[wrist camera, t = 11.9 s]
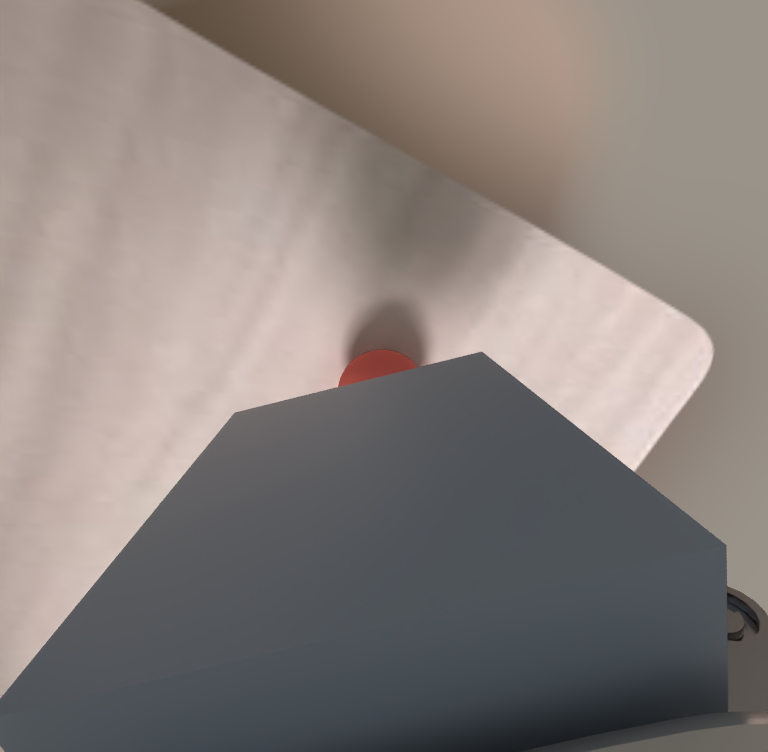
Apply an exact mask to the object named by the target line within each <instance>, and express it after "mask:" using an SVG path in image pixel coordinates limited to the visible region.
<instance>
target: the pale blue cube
mask: <svg viewBox="0 0 768 752" xmlns="http://www.w3.org/2000/svg"><path fill="white" fill-rule="evenodd" d="M726 563H727V561H726V545H725V544H724V543H723V542H721V541H720V540H719V539H718V538H716V537H715V536H714V535H713V534H712V533H710V532H709V531H708V530H707V529H705V528H704V527H703V526H701V525H700V524H699V523H698V522H696V521H695V520H694V519H693V518H691V517H690V516H689V515H688V514H686V513H685V512H684V511H683V510H681V509H680V508H679V507H677V506H676V505H675V504H674V503H672V502H671V501H670V500H669V499H667V498H666V497H665V496H664V495H662V494H661V493H660V492H659V491H657V490H656V489H655V488H654V487H652V486H651V485H650V484H648V483H647V482H646V481H645V480H643V479H642V478H641V477H640V476H638V475H637V474H636V473H635V472H633V471H632V470H631V469H630V468H628V467H627V466H626V465H624V464H623V463H622V462H621V461H619V460H618V459H617V458H616V457H614V456H613V455H612V454H611V453H609V452H608V451H607V450H606V449H604V448H603V447H602V446H600V445H599V444H598V443H597V442H595V441H594V440H593V439H592V438H590V437H589V436H588V435H587V434H585V433H584V432H583V431H582V430H580V429H579V428H578V427H576V426H575V425H574V424H573V423H571V422H570V421H569V420H568V419H566V418H565V417H564V416H563V415H561V414H560V413H559V412H558V411H556V410H555V409H554V408H552V407H551V406H550V405H549V404H547V403H546V402H545V401H544V400H542V399H541V398H540V397H539V396H537V395H536V394H535V393H534V392H532V391H531V390H530V389H528V388H527V387H526V386H525V385H523V384H522V383H521V382H520V381H518V380H517V379H516V378H515V377H513V376H512V375H511V374H510V373H508V372H507V371H506V370H504V369H503V368H502V367H501V366H499V365H498V364H497V363H496V362H494V361H493V360H492V359H491V358H489V357H488V356H487V355H486V354H484V353H483V352H479V353H475V354H471V355H466V356H462V357H458V358H454V359H450V360H446V361H442V362H438V363H434V364H430V365H426V366H422V367H418V368H414V369H410V370H406V371H402V372H398V373H394V374H390V375H385V376H381V377H377V378H373V379H369V380H365V381H361V382H357V383H353V384H349V385H345V386H341V387H337V388H333V389H329V390H325V391H321V392H317V393H313V394H309V395H305V396H300V397H296V398H292V399H288V400H284V401H280V402H276V403H272V404H268V405H264V406H260V407H256V408H252V409H248V410H244V411H240V412H236V413H234V414H233V415H232V417H231V418H230V419H229V420H228V422H227V423H226V424H225V425H224V426H223V428H222V429H221V430H220V431H219V433H218V434H217V435H216V436H215V437H214V439H213V440H212V441H211V442H210V444H209V445H208V446H207V447H206V448H205V450H204V451H203V452H202V453H201V454H200V456H199V457H198V458H197V459H196V461H195V462H194V463H193V464H192V465H191V467H190V468H189V469H188V470H187V472H186V473H185V474H184V475H183V476H182V478H181V479H180V480H179V481H178V483H177V484H176V485H175V486H174V487H173V489H172V490H171V491H170V492H169V494H168V495H167V496H166V497H165V498H164V500H163V501H162V502H161V503H160V505H159V506H158V507H157V508H156V509H155V511H154V512H153V513H152V514H151V516H150V517H149V518H148V519H147V520H146V522H145V523H144V524H143V525H142V527H141V528H140V529H139V530H138V531H137V533H136V534H135V535H134V536H133V537H132V539H131V540H130V541H129V542H128V544H127V545H126V546H125V547H124V548H123V550H122V551H121V552H120V553H119V555H118V556H117V557H116V558H115V559H114V561H113V562H112V563H111V564H110V566H109V567H108V568H107V569H106V570H105V572H104V573H103V574H102V575H101V577H100V578H99V579H98V580H97V581H96V583H95V584H94V585H93V586H92V588H91V589H90V590H89V591H88V592H87V594H86V595H85V596H84V597H83V599H82V600H81V601H80V602H79V603H78V605H77V606H76V607H75V608H74V609H73V611H72V612H71V613H70V614H69V616H68V617H67V618H66V619H65V620H64V622H63V623H62V624H61V625H60V627H59V628H58V629H57V630H56V631H55V633H54V634H53V635H52V636H51V638H50V639H49V640H48V641H47V642H46V644H45V645H44V646H43V647H42V649H41V650H40V651H39V652H38V653H37V655H36V656H35V657H34V658H33V660H32V661H31V662H30V663H29V664H28V666H27V667H26V668H25V669H24V671H23V672H22V673H21V674H20V675H19V677H18V678H17V679H16V680H15V681H14V683H13V684H12V685H11V686H10V688H9V689H8V690H7V691H6V692H5V694H4V695H3V696H2V697H1V699H0V746H1V748H2V749H3V750H4V752H521V751H525V750H530V749H534V748H538V747H543V746H547V745H552V744H556V743H561V742H565V741H569V740H574V739H578V738H583V737H587V736H592V735H597V734H602V733H606V732H611V731H616V730H621V729H626V728H631V727H636V726H641V725H646V724H651V723H655V722H660V721H665V720H670V719H677V718H683V717H690V716H697V715H704V714H711V713H722V712H728V648H727V568H726V567H727V565H726Z"/></svg>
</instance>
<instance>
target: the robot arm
mask: <svg viewBox="0 0 768 752" xmlns="http://www.w3.org/2000/svg"><path fill="white" fill-rule="evenodd" d="M727 648H728V712H722V713H711V714H704V715H697V716H690V717H683V718H677V719H670V720H665V721H660V722H655V723H651V724H646V725H641V726H636V727H631V728H626V729H621V730H616V731H611V732H606V733H602V734H597V735H592V736H587V737H583V738H578V739H574V740H569V741H565V742H561V743H556V744H552V745H547V746H543V747H538V748H534V749H530V750H525V751H521V752H768V616H767V614H766V612H765V611H764V610H763V609H762V608H761V607H760V606H759V605H758V604H757V603H756V602H755V601H754V600H752V599H751V598H749V597H748V596H746V595H745V594H743V593H742V592H740V591H737V590H735V589H733V588H730V587H728V586H727ZM0 752H4V750H3V749H2V748H1V746H0Z"/></svg>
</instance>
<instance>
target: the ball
mask: <svg viewBox="0 0 768 752" xmlns="http://www.w3.org/2000/svg"><path fill="white" fill-rule="evenodd" d="M414 368H417V366H416V365H415V364H414V363H413V362H412V361H411V360H410V359H409V358H407V357H406V356H404V355H402V354H400V353H398V352H395V351H391V350H373V351H369V352H366V353H364V354H362V355H360V356H358V357H357V358H355V359H354V360H353V361H352V362H351V363H350V364H349V365H348V366H347V367H346V369H345V370H344V372H343V374H342V376H341V378H340V381H339V386H338V387H341V386H345V385H349V384H353V383H357V382H361V381H365V380H369V379H373V378H377V377H381V376H385V375H390V374H394V373H398V372H402V371H406V370H410V369H414Z"/></svg>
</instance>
